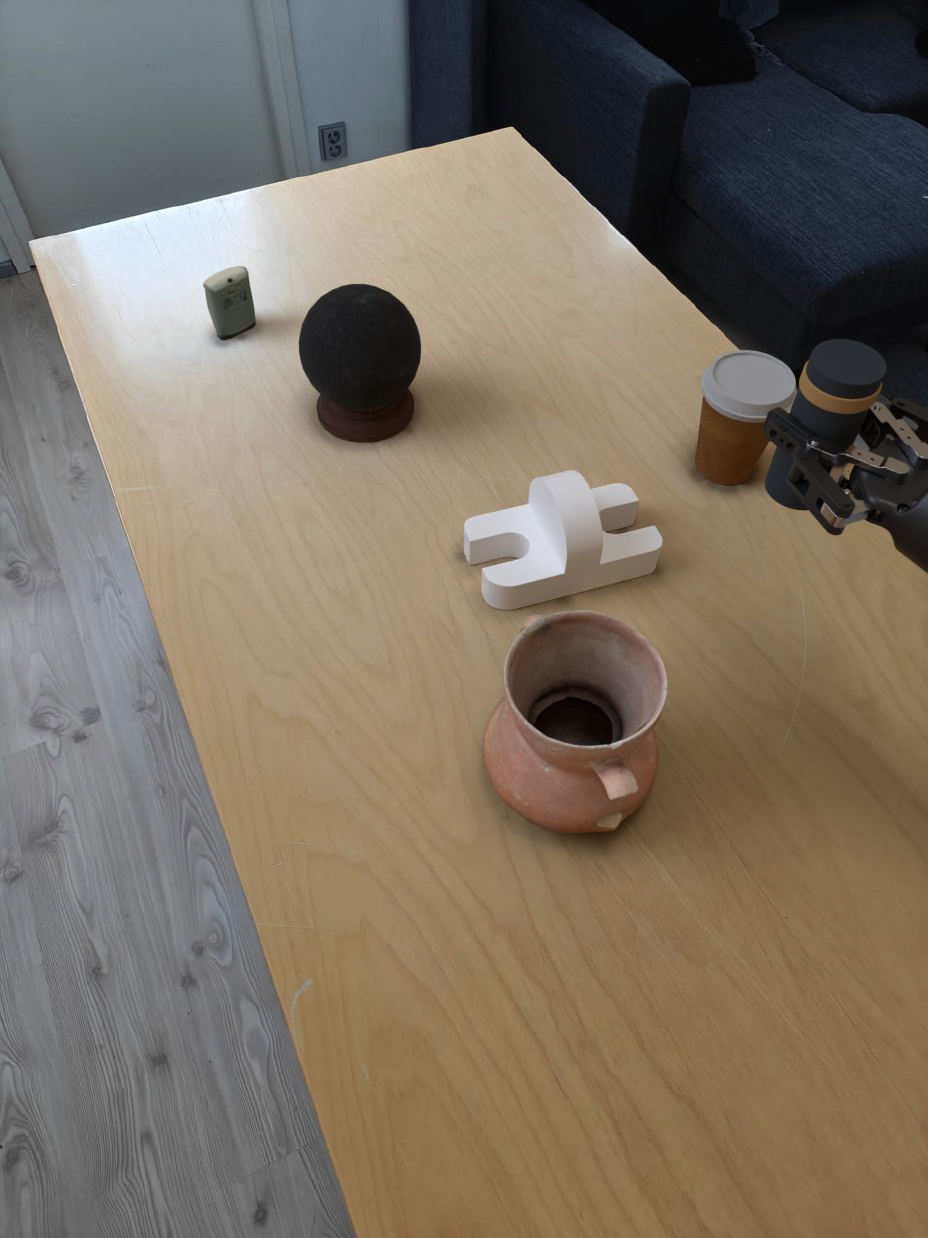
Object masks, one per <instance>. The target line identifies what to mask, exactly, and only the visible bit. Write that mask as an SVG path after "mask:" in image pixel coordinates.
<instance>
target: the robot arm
mask: <svg viewBox="0 0 928 1238" xmlns="http://www.w3.org/2000/svg"><path fill="white" fill-rule="evenodd" d="M904 417H905V418H907V419H909V420H911V421H913V422H916V424H917V428H916V429H915V428H913V427H911V426H909V424H908V423H907V422H906V420H905V419H904ZM763 430H764V432H765V433H764V434H765V436H766V438H767V439H768V440H769V442H771V443H772V444H773V445H774V446H776V447H777V446H778V447H779V448H780V449H781V450H782V451H784V452H785V453H786V454H788V455H789V456H790V457H792V458H793V460H794V461H793V464H792V466H791V469H790V472H789V474H788V475H787V478H786V480H785V482H786V484H787V485H788V487H789V488H790V489H791V490H792V491H793V492H794V494H795V495H796V496H797V497H798V498H799V499H800V501H801V502H802V503H803V504H804V505H805V506H806V508H807V509H808V510H807V511H809V513H810V514H811V515H812V516H813V517H814V518H815V519H816V521H817V522H818V523H819V524H820V526H821V527H822V528H823V529H824V530H825V531H826V533H828V534H829V535H831V536H840V535H842V534H843V533H844V531H845V528H846V527H847V526H848V525H851V524H853V523H857V522H860V521H863V520H864V521H865V522H867V523H869V524H872V525H875V526H879V527H881V528H883V529H884V530H886V531H887V532H888V533H889V535H890V536H891V539H892V542H893V547H894V548H895V550H896V551H898V552H899V553H900V554H901V555H903V556H904V557H905V558H906V559H908V560H909V561H911V562H912V563H913V564H914V565H915V566H916V567H918V568H920V569H921V570H922V571H923V572H924V573H926V574H927V575H928V409H927V408H925V407H924V406H922V405H919V404H917V403H915V402H913V401H910V400H909V399H906V398H904V397H900V396H898V397H894V398H893V399H892V401H891V403H887V404H884V403H882V402H880V401H875V403H874V404H873V405H872V406H871V407H870V409H869V411H868V413H867V415H866V417H865V420H864V422H863V424H862V426H861V428H860V431H859V433H858V435H859V437H860V438H861V439H862V440H863V442H864V443H865V445H866V446H867V447H868V450H867V449H864V448H862V447H859V446H856V445H855V444H853V445H852V444H845V445H844V446H839V445H836V444H834V443H831V442H829V441H826V440H824V439H822V438H819V437H816V436H814V435H815V432H814V431H812V430H811V429H809V428H808V427H806V426H805V425H803V424H802V423H801V422H800V421H799V420H797V419H796V418H795V417H793V416H792V415H790V414H789V412H788V411H787V412H786V411H785V410H784V409H782V408H781V407H776V408H774V409H772V410H770V411H769V412H768V414H767V417H766V420H765V423H764V426H763ZM819 456H821V457H824V458H826V459H829V460H831V461H832V462H833V463H834V465H833V467H830V466H828V465H825V464H823V463H821V462H818V461H817V460H818V458H819ZM848 465H853V467H852V468H851V470H850V473H849V475H848V478H847V477H846V476H845V474H844V473H845V471H846V468H847V467H848ZM806 478H808V480H809V481H810V483H809V482H808V481H807V479H806Z"/></svg>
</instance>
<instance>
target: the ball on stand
mask: <svg viewBox="0 0 928 1238" xmlns="http://www.w3.org/2000/svg"><path fill="white" fill-rule="evenodd" d="M421 340H422V339H421V335H420V331H419V328H418V325H417V322H416V320H415V318H414V316H413V314H411V312H410V310H409V309H408V308H407V306H406V305H405V304H404V302H402V301H401V300H400V299H399V298H398V297H396V296H395V295H394V294H392V293H391V291H388V290H386V289H383V288H381V287H378V286H376V285H371V284H368V283H348V284H344V285H341V286H337V287H335V288H333V289H331V290H329V291H327V292H326V293H324V294H323V295H321V296H320V297H319V298H318V299H317V300H316V301H315V303H314V304H312V306H311V307H310V308H309V310H307V313H306V315H305V317H304V320H303V321H302V323H301V326H300V332H299V337H298V354H299V359H300V364H301V368H302V370H303V372H304V375H305V376H306V378H307V380H308V382H309V383H310V385H311V386H312V388H314V389H315V391H317V392H318V394H319V396H318V399H317V400H316V414H317V419H318V421H319V423H320V425H321V426H322V428H323V429H324V430H325V431H326V432H328V433H329V434H331V435H332V436H334V437H335V438H338V439H341V440H343V441H347V442H352V443H375V442H381V441H384V440H387V439H390V438H392V437H395V436H397V435H398V434H399V433H401V432H403V431H404V430H405V429H406V428H407V427H408V426H409V425H410V424H411V421H413V418H414V415H415V398H414V395H413V393H412V392H411V389H409V388H410V386H411V384H412V383H413V382H414V381H415V378H416V376H417V373H418V371H419V370H418V369H419V367H420V364H421V358H422V341H421Z"/></svg>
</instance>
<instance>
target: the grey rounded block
mask: <svg viewBox="0 0 928 1238" xmlns="http://www.w3.org/2000/svg"><path fill="white" fill-rule="evenodd" d="M250 281H251V280H250V273H249V271H248V268H247V267H246V266H244V265H243V266H242V265H237V266H236V265H235V266H231V267H228V268H225V269H223V270H220V271H217V272H215V273H214V274H212V275H210V276H209V277H208V278H206V280H205V281H204V282H203V283H202V287H203V289H204V294H205V300H206V306H207V310H208V313H209V316H210V318H211V322H212V324H213V326H214V329H215V332H216V336H217V337H218V339H219V340H221V341H226V340H230V339H232V338H234V337H237V336H238V335H241V334H243V333H245V332H246V331H249V330H250V329H253V328H254V327H255V326H256V322H257V319H256V310H255V306H254V305H255V303H254V298H253V293H252V287H251V282H250Z"/></svg>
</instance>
